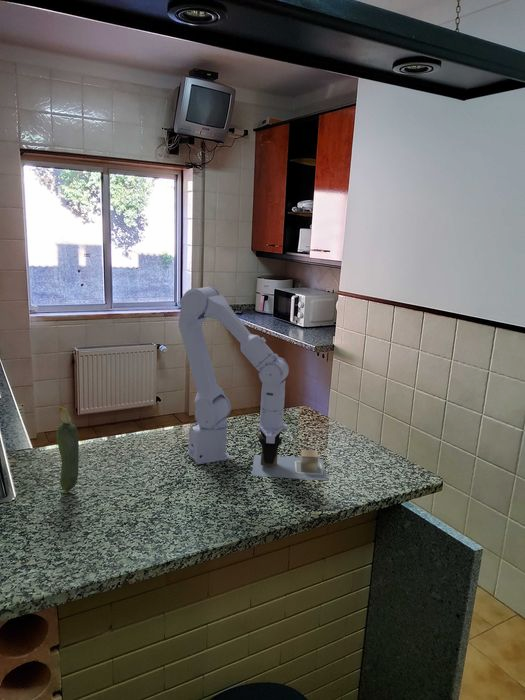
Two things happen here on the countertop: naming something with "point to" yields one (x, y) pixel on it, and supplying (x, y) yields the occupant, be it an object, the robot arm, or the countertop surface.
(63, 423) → the vegetable
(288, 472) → the board
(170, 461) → the countertop surface
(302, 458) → the maple block
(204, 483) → the countertop surface
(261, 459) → the walnut block
